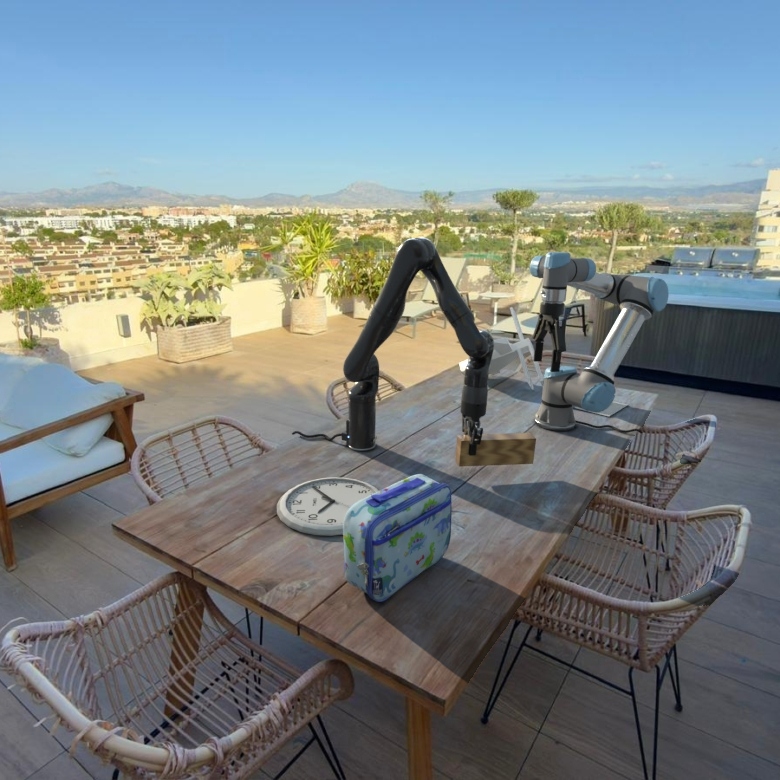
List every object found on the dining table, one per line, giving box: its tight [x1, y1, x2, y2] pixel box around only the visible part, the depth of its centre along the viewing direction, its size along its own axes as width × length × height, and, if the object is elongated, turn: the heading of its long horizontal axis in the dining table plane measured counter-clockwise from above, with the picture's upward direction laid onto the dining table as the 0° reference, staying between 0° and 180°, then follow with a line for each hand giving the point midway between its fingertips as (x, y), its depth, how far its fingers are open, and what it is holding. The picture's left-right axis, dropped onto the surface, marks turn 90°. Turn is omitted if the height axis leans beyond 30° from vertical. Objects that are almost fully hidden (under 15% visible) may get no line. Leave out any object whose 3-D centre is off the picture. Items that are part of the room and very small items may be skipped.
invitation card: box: [573, 400, 629, 418], centre depth 226 cm, size 21×1×15 cm
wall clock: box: [276, 476, 381, 537], centre depth 142 cm, size 30×2×30 cm
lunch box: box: [342, 473, 453, 603], centre depth 112 cm, size 26×11×21 cm, turn 134°
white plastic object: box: [458, 306, 544, 391], centre depth 259 cm, size 37×45×31 cm
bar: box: [454, 432, 537, 468], centre depth 161 cm, size 24×5×9 cm, turn 98°
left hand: (469, 451), depth 160 cm, fingers closed on bar, 4 cm apart
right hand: (545, 366), depth 173 cm, fingers open, 13 cm apart
